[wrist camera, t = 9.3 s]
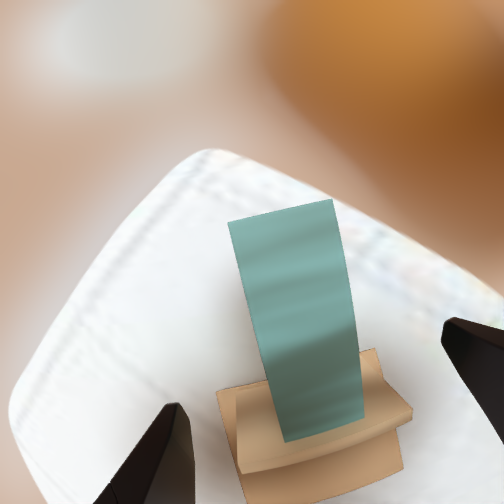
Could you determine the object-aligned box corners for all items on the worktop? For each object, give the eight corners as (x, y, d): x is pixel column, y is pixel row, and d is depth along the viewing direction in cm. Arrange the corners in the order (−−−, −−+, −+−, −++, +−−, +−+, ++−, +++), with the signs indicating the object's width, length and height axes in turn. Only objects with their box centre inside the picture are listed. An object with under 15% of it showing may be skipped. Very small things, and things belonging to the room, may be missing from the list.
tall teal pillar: (411, 419, 9) (392, 185, 9) (242, 474, 9) (160, 238, 8) (362, 366, 15) (334, 201, 15) (238, 401, 15) (190, 234, 14)
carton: (385, 457, 16) (403, 469, 12) (254, 496, 15) (251, 515, 12) (358, 352, 19) (374, 347, 16) (224, 389, 19) (215, 391, 16)
